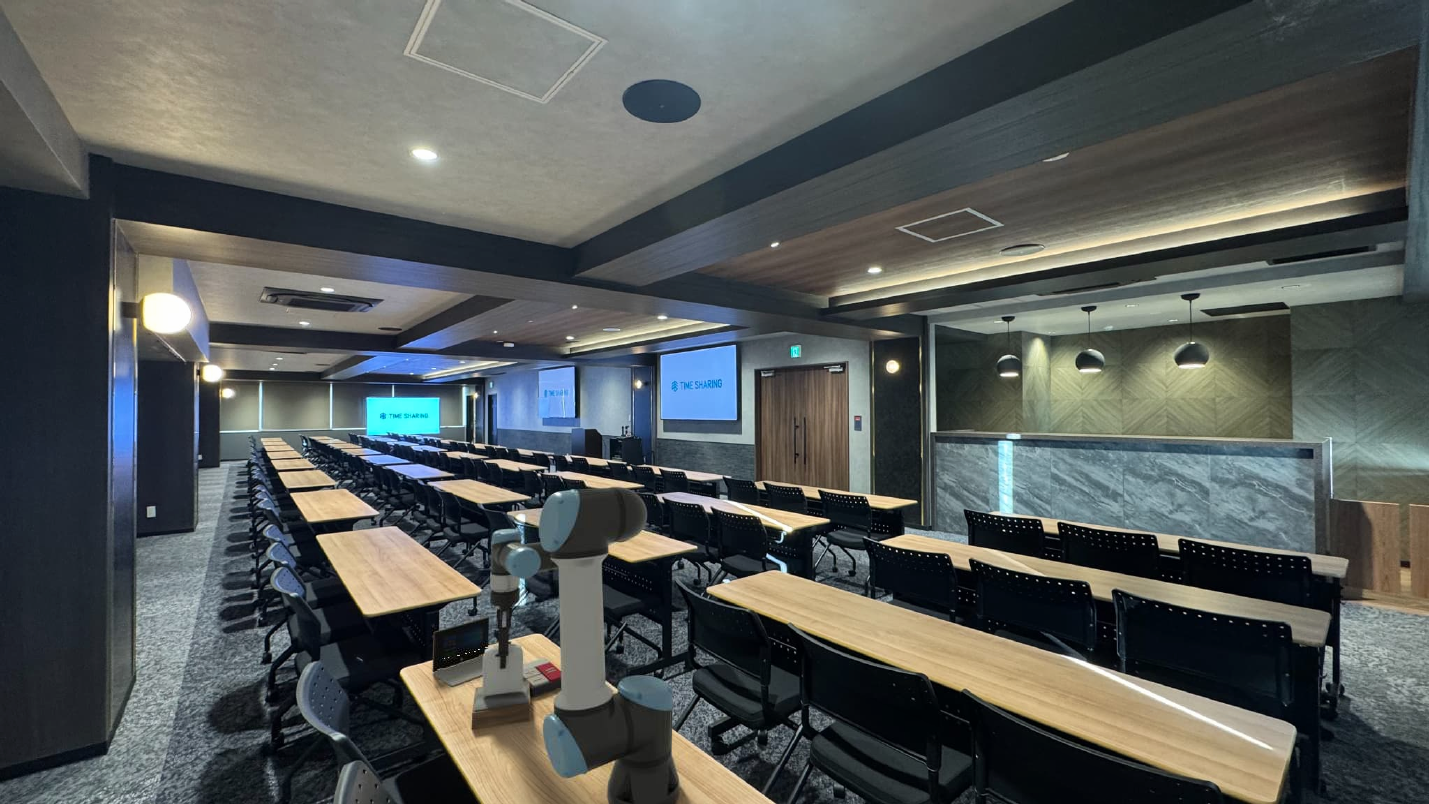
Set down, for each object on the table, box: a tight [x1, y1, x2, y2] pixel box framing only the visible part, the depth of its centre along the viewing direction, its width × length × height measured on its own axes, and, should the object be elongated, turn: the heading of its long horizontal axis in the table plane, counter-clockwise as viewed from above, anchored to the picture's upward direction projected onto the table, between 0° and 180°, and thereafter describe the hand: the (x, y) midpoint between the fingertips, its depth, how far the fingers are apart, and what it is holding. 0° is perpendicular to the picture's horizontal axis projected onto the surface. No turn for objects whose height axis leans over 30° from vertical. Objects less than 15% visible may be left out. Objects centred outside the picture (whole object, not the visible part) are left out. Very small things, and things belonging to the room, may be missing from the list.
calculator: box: [523, 657, 561, 698], centre depth 167 cm, size 11×4×15 cm
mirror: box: [471, 681, 531, 730], centre depth 151 cm, size 14×14×4 cm
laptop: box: [431, 616, 490, 687], centre depth 174 cm, size 18×12×13 cm
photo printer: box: [481, 643, 524, 696], centre depth 151 cm, size 10×4×12 cm, turn 109°
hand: (502, 675), depth 151 cm, fingers closed on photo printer, 4 cm apart
